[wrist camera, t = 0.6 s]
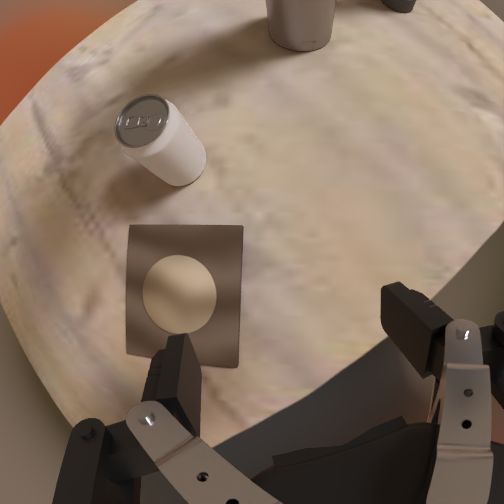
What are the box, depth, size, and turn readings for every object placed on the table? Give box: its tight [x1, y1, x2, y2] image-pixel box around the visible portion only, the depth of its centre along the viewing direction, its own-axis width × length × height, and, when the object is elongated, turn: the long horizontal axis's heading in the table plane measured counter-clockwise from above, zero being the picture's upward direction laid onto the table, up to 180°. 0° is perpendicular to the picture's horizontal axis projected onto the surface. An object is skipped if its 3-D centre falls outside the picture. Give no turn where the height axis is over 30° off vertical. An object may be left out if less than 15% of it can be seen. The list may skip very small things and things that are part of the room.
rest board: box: [126, 225, 243, 368], centre depth 34 cm, size 16×14×1 cm
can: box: [115, 94, 206, 186], centre depth 30 cm, size 6×6×12 cm
